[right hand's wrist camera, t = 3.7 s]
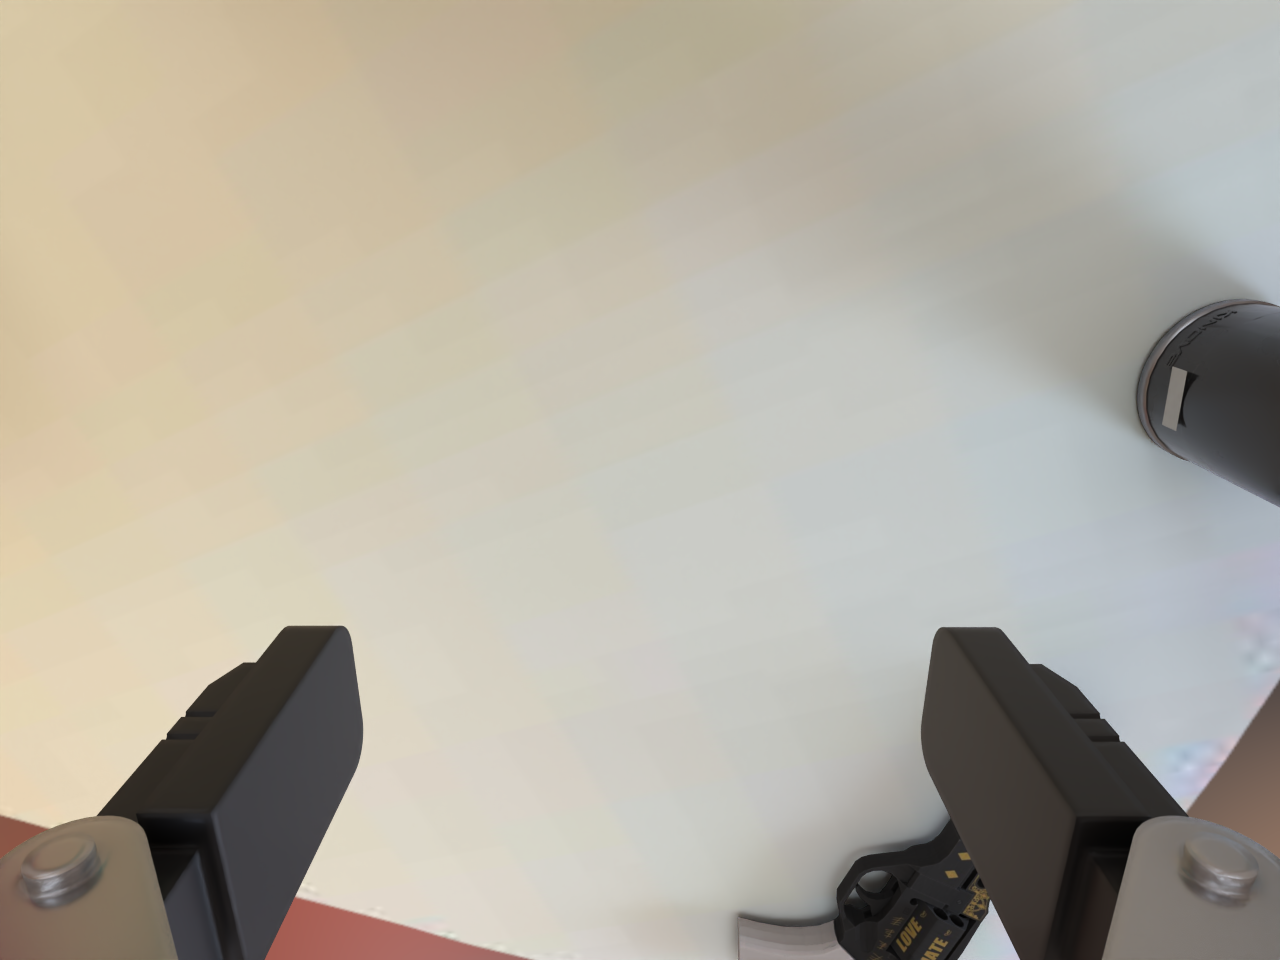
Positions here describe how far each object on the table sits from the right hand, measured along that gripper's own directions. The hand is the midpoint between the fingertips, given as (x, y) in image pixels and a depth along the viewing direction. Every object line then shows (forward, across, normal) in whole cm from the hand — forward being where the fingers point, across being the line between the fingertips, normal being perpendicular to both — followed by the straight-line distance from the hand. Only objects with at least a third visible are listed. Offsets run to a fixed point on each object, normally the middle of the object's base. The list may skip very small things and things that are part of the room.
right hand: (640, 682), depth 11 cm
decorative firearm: (+36, -18, +38) cm, 56 cm away
